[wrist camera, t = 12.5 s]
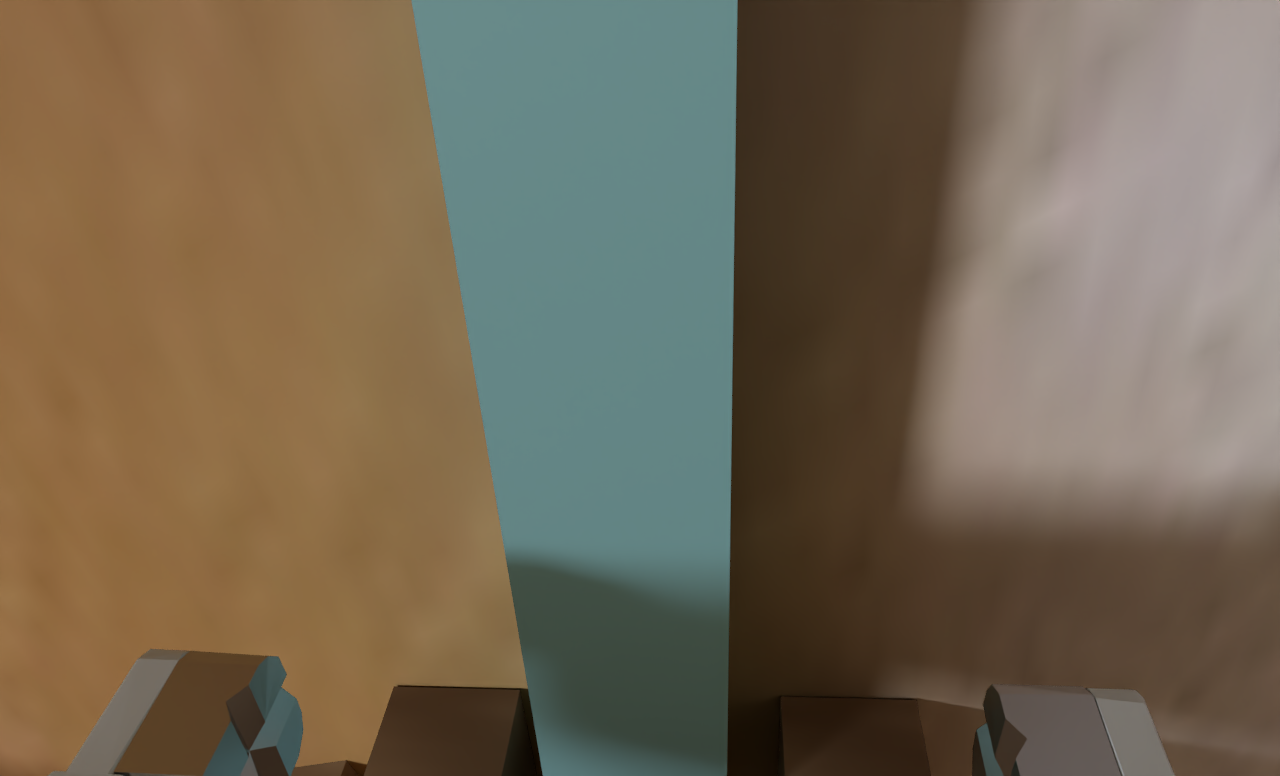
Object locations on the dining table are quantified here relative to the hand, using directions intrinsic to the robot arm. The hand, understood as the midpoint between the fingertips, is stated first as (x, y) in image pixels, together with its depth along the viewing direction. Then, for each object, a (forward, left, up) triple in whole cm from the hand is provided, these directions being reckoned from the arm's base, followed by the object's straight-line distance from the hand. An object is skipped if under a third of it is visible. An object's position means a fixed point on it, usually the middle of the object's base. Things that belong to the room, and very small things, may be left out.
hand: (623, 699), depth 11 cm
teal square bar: (0, +1, -5) cm, 5 cm away
